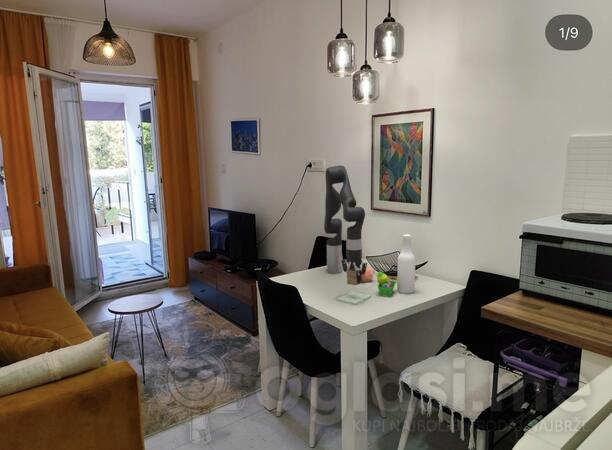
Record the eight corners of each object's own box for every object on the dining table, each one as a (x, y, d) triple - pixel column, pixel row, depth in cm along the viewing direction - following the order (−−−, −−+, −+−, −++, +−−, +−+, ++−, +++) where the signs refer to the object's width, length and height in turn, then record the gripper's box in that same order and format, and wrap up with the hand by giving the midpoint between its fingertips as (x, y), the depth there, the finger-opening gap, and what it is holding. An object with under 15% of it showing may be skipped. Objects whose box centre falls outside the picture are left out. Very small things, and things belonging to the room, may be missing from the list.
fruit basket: (392, 297, 205) (392, 275, 203) (374, 296, 208) (374, 274, 206) (395, 290, 215) (396, 270, 214) (378, 289, 219) (379, 268, 217)
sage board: (352, 293, 213) (352, 291, 213) (371, 297, 206) (371, 295, 206) (337, 300, 202) (337, 298, 202) (356, 305, 195) (356, 303, 195)
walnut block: (352, 281, 206) (352, 267, 205) (361, 283, 203) (361, 269, 202) (347, 283, 202) (347, 269, 201) (355, 285, 199) (355, 271, 198)
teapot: (374, 277, 241) (374, 263, 240) (374, 284, 227) (374, 270, 225) (353, 276, 243) (353, 263, 242) (352, 284, 228) (352, 269, 227)
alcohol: (395, 293, 212) (396, 235, 207) (398, 288, 220) (399, 233, 215) (413, 294, 208) (414, 236, 204) (415, 289, 217) (416, 233, 212)
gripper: (370, 248, 198) (370, 282, 201) (346, 244, 207) (346, 277, 210) (362, 250, 193) (362, 285, 195) (337, 247, 202) (337, 280, 204)
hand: (354, 281), depth 202 cm, fingers closed on walnut block, 5 cm apart
